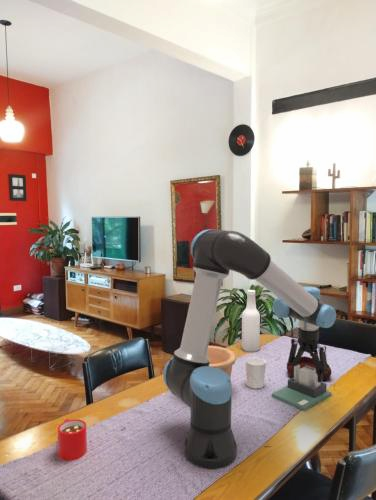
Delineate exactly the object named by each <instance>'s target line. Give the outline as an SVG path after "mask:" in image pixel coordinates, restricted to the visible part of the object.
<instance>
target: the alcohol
mask: <svg viewBox="0 0 376 500" xmlns="http://www.w3.org/2000/svg"><path fill="white" fill-rule="evenodd" d="M256 294H257V293H256V290H254V289H248V290H247V295H246V296H247V298H246V306H245V309H244V310H243V312H242V314H241V349H242V350H243V351H244V352H247V353H248V352H249V353H256V352H258V351H259V350H260V338H261V337H260V336H261V335H260V331H261V329H260V328H261V327H260V326H261V318H260V317H261V314H260V311H259V310H258V309H257V303H256Z"/></svg>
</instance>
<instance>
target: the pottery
mask: <svg viewBox="0 0 376 500" xmlns="http://www.w3.org/2000/svg"><path fill="white" fill-rule="evenodd" d="M207 355H208V357H209V359H210V363H209V366H210V367H213V368H219V369H221V370H223V371H224V372H226V373H227V374H228V375H229V377H230V379H231V377H232V371H233V366H234V365H235V363H236V361H237V355H236V354H235V352H234V351H232V350H230V349H228V348H226V347H223V346H218V345H217V346H216V345H208V350H207Z"/></svg>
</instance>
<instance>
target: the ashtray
mask: <svg viewBox="0 0 376 500" xmlns="http://www.w3.org/2000/svg"><path fill="white" fill-rule="evenodd" d="M297 365H300V369H301V368H303V367H305V366H306V365H307V366H310V367H313V368H315V365H314V362H313V359H312V357H311V356H306V355H305V356H303V355H302V357H301V359H300V361H299V364H297ZM327 366H328V373H326V374H323V381H326V380H328V379H329V378H330V377H331V376H332V368H331V367H330V364H329V363H327ZM286 370H287V373H288V375H289V376H290V377H291V378H293V377H294V373H293V372H292V370H293V365H292V363H289V362H288V361H287V362H286ZM316 373H317V371H316Z"/></svg>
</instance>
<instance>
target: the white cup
mask: <svg viewBox="0 0 376 500" xmlns="http://www.w3.org/2000/svg"><path fill="white" fill-rule="evenodd" d="M266 362H267V360H266V359H264V358H262V357H256V356H255V357H253V356H252V357H248V358H246V359H245V376H246V386H247V387H248V388H250V389H251V388H252V389H255V390H256V389H258V388H259V389H262V388H263V387H264V386H265V377H266Z"/></svg>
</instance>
